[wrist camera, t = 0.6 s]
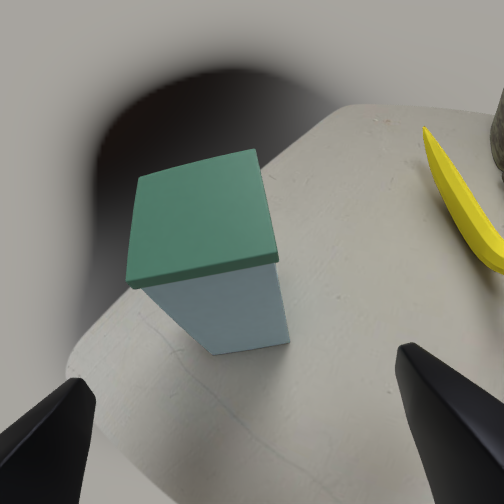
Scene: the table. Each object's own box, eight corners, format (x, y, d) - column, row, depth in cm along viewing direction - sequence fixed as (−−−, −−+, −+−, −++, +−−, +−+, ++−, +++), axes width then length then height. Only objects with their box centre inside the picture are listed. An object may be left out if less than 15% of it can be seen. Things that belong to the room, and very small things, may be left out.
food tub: (293, 344, 23) (277, 252, 12) (210, 358, 23) (124, 282, 12) (279, 271, 26) (255, 147, 15) (204, 285, 27) (138, 176, 16)
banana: (425, 158, 31) (436, 113, 25) (516, 304, 20) (554, 270, 15) (405, 162, 31) (415, 116, 25) (497, 316, 20) (535, 282, 15)
